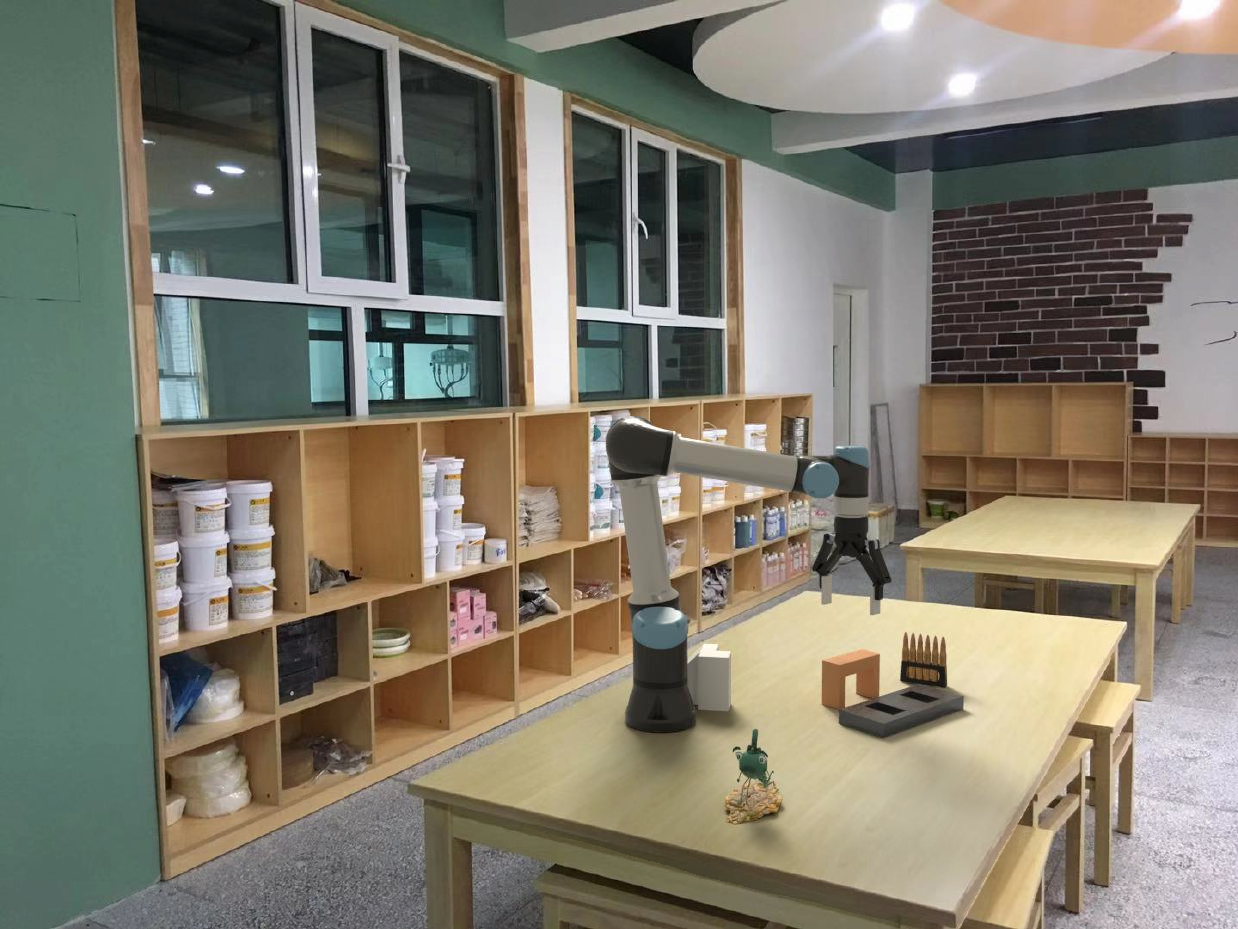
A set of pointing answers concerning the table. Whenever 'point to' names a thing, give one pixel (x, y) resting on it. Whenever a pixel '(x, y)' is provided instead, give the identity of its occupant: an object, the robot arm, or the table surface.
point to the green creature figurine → (752, 787)
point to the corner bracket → (710, 678)
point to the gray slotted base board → (900, 710)
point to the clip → (846, 665)
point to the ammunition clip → (924, 662)
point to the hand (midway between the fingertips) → (850, 609)
